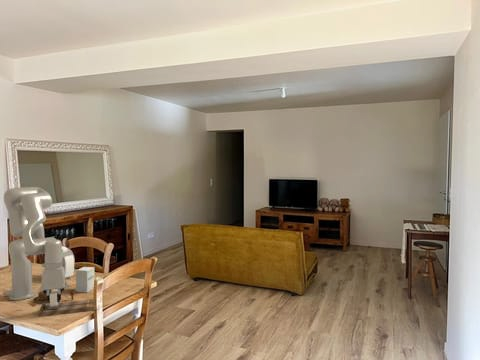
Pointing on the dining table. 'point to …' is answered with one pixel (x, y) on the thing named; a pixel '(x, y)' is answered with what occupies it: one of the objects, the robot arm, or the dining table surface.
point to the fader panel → (67, 308)
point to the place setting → (43, 297)
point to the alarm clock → (68, 262)
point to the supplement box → (85, 279)
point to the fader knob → (53, 300)
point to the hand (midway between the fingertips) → (54, 301)
